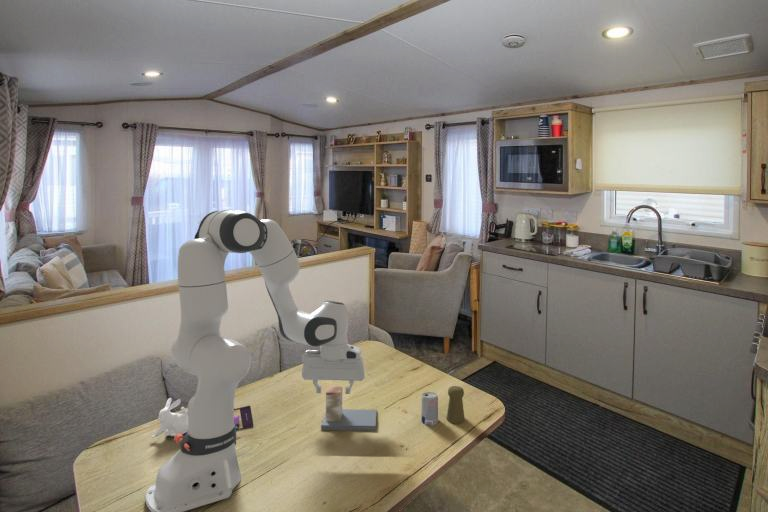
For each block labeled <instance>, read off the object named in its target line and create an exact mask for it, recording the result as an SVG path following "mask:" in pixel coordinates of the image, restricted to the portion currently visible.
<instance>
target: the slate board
mask: <svg viewBox="0 0 768 512" xmlns="http://www.w3.org/2000/svg"><path fill="white" fill-rule="evenodd" d="M377 413H378V412H377V409H346V408H345V409H343V408H342V417H341V420H340V421H326V412H325V413H324V416H323V418H322V419H323V420H322V422H321V423H320V430H321V431H376V428H377Z"/></svg>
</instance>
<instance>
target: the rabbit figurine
mask: <svg viewBox="0 0 768 512" xmlns="http://www.w3.org/2000/svg"><path fill="white" fill-rule="evenodd" d="M172 401H173V399H172V397H169V398H168V399H167V400H166V403H165V406H164V408H161V410H160V411H159V413H158V416H157V419H158V421H160V425H159V427H158V429H157V430H156V432H155V433H154V434H153V435H150V439H152V438H153V439H154V438H157V437H159V436H160V435H162V434H164V436H165V437H167V436H171V437H175V435H176V434H179V433H180V434H182V435H184V434H187V432H188V409H186V408H185V407H184V406H181V407H180V410H181V411H183V413H179V412H171V410H173V409H174V408H176V407H177V406H179V405H180V404H181V402H182V401H181V399H180V398H178V399H177V400H174V402H173V403H172Z"/></svg>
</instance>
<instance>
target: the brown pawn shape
mask: <svg viewBox="0 0 768 512" xmlns="http://www.w3.org/2000/svg"><path fill="white" fill-rule="evenodd" d="M464 390H465V389H463V387H461V386H459V385H452V386H449V387H448V389H447V394H448V396H449V399H448V405H447V411H446V412H447V414H446V420H447V422H448V423H450V424H454V425H461V424H464V423H465V422H466V421H465V411H464V402H463V397H464V395H465V391H464Z"/></svg>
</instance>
